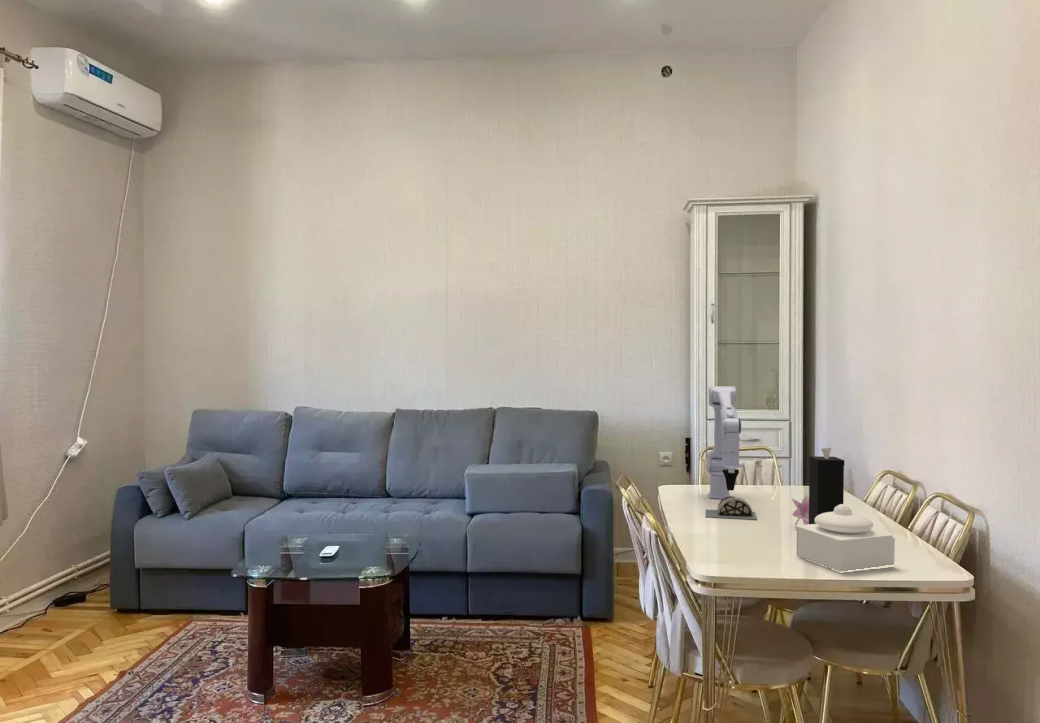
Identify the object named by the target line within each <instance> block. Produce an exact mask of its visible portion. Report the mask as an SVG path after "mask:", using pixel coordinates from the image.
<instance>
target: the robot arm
mask: <svg viewBox="0 0 1040 723" xmlns="http://www.w3.org/2000/svg"><path fill="white" fill-rule="evenodd" d="M736 400H737V389H736V386H735V385H733V386H724V385H722V386H720V385H718V386H716V385H715V386H713V385H710V386H709V387H708V405H709V407H712V408H713V411H714V437H713V438H714V440H713V441H714V446H713V448H712V449H711V450H710V451H709V452H707V454H706V467H705V468H706V472H707V474H709V492H708V498H709V499H718V500H722V499H724V498H726V497H729V496H731V493H730V491H732V492H733V491H734V490H735V487H736V480H737V479H738V478H737V477H738V476H739V474H740V470H739V469H738V468H742V467H743V466H744V465H743V464H742V463H740V435H741V432H742V420H741V418H740V417H739V416H738V414H737V410H736V408H735V406H734V404H735V402H736Z"/></svg>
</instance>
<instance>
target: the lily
mask: <svg viewBox="0 0 1040 723" xmlns="http://www.w3.org/2000/svg"><path fill="white" fill-rule="evenodd" d="M791 501H792V502H793V504H794V506H795V507H796V509H795V510H794V511H793V513H792V517H794V518H797V520H796V522H795V524H794V526H797V525H798V522H799V521H800V520H802V521H803V525H808V524H809V495H808V494H805V495H804V497H803V499H802V501H801V502H800V501H798V500H796V499H794V498H792V499H791Z"/></svg>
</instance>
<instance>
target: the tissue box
mask: <svg viewBox="0 0 1040 723" xmlns="http://www.w3.org/2000/svg"><path fill="white" fill-rule="evenodd" d="M820 450H821V453H822V455H823V456H814V455H813V456H809V457H808V458H809V459H808V461H809V463H808V464H809V466H808V470H809V474H808V477H809V478H808V479H809V482H808V497H809V524H816V523H815V521H814V519H815V517H816V516H817V515H820V514H822V513H826V512H833V511H834V508H835V507H836V506H838V505H839V504H844V496H845V494H844V493H845V492H844V491H845V490H844V488H845V487H844V486H845V484H844V483H845V478H844V477H845V460H844V459H842V458H839V457H837V456H830V455H831V452H832V447H825V448H824V447H823V448H820Z"/></svg>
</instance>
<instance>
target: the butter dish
mask: <svg viewBox="0 0 1040 723" xmlns="http://www.w3.org/2000/svg"><path fill="white" fill-rule="evenodd" d="M814 521H815V523H816V524H808V525H805V524H800V525H798V524H796V525H794V529H795V530H796V557H797V556H799V557H802V558H804V559H803V560H805V559H808V560H811V561H814V562H816V563H819V564H822V565H824V566H827V567H830V568H833V569H835V570H838V571H841V572H842V571H848V570H856V569H864V568H871V567H879V566H885V565H893V564H894V565H895V546H896V544H895V541H896V538H895V537H894V536H893V535H892V534H889V533H885V532H882V531H879V530H876V529H873V528H874V523H873V521H872V520H871V519H869V518H868V517H866V516H864V515H862V514H857V513H853V511H852V509H851V507H850V506H848V505H846V504H844V503H843V504H839V505H838V506H836V507H835V508H834V511H833V512H826V513H822V514H820V515H817V516H816V517H815V519H814ZM799 557H798V558H799ZM802 558H801V559H802Z"/></svg>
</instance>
